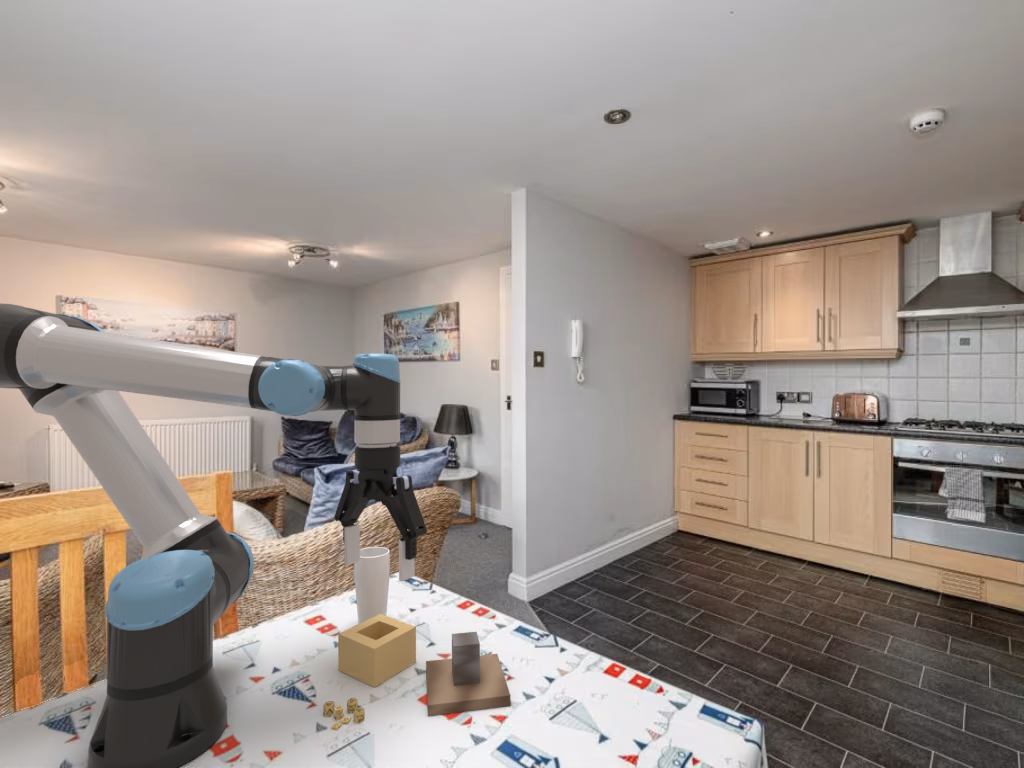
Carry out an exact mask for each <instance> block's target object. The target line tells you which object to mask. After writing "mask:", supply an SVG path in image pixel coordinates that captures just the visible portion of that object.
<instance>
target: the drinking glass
mask: <svg viewBox="0 0 1024 768" xmlns="http://www.w3.org/2000/svg"><path fill="white" fill-rule="evenodd" d="M390 551H391V550H390V549H389V548H387V547H384V546H383V547H382V546H370V547H364V548H360V561H358V562H355V563H353V574H354V575H353V579H354V588H355V597H356V599H355V600H356V609H357V625H358V624H360V623H362V622H364V621H366V620H368V619H370V618H373V617H375V616H377V615H379V614H382V615H385V616H387V611H388V600H389V597H388V596H389V588H390V587H389V585H390V578H391V577H390V575H391V555H390V553H391V552H390Z"/></svg>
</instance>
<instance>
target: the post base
mask: <svg viewBox="0 0 1024 768" xmlns="http://www.w3.org/2000/svg"><path fill="white" fill-rule="evenodd" d="M479 639H480V638H479V636H478V632H477V631H467V632H458V633H451V658H444V659H435V660H434V659H433V660H425V676H426V677H425V678H426V679H425V680H426V701H427V703H426V704H427V717H429V716H430V717H431V716H437V715H446V714H453V713H454V714H455V713H461V712H470V711H471V712H472V711H477V710H478V711H479V710H484V709H485V710H486V709H493V708H501V707H502V708H503V707H509V706H510V707H511V693H510V689H509V686H508V684H507V681H506V677H505V673H504V671H503V667H502V665H501V661H500V658H499V655H498V653H491V654H481V652H480V651H481V643H480V640H479Z"/></svg>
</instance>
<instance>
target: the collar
mask: <svg viewBox="0 0 1024 768" xmlns="http://www.w3.org/2000/svg"><path fill="white" fill-rule="evenodd" d="M337 638H338V639H337V640H338V642H337V643H338V645H337V652H338V655H337V656H338V658H337V660H338V661H337V665H338V667H337V668H338V671H340V672H341V673H343V674H346V675H348V676H350V677H352V678H354V679H356V680H358V681H361V682H362V683H364V684H366V685H369V686H371V687H373V688H377V687H378V686H380V685H381V684H383V683H384V682H386V681H388V680H389V679H391V678H393V677H394V676H396V675H397V674H399V673H400V672H402V671H403V670H404V671H405V670H406V669H407V668H408V667H410V666H412V665H414V664H415V663H417V627H416V625H412V624H410V623H407V622H404V621H401V620H398V619H396V618H392V617H390V616H389V615H386V616H385V615H382V614H379V615H377V616H375V617H373V618H370V619H368V620H366V621H364V622H362V623H360V624H358V623H357V624H355V625H354V626H352V627H350V628H347V629H345V630H344V631H341V632H339V633H338V635H337Z"/></svg>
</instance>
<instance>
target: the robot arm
mask: <svg viewBox="0 0 1024 768" xmlns="http://www.w3.org/2000/svg"><path fill="white" fill-rule="evenodd" d="M400 371H401V370H400V361H399V358H397V356H396V355H394V354H391V353H390V354H389V353H359V354H356V355H355V356H354V360H353V363H352V365H351V364H350V365H349V364H348V365H343V366H342V365H318V364H313V363H309V362H307V361H304V360H300V359H294V358H287V359H286V358H278V357H273V356H263V355H259V354H252V353H246V352H238V351H233V350H227V349H219V348H213V347H212V348H211V347H206V346H201V345H200V346H198V345H193V344H192V345H191V344H185V343H179V342H171V341H165V340H158V339H154V338H153V339H152V338H145V337H139V336H132V335H127V334H125V335H124V334H121V333H120V334H119V333H113V332H106V331H105V330H104V329H102V328H101V327H99V326H98V325H97V324H94V323H92V322H89V321H87V320H85V319H83V318H80V317H77V316H75V315H74V316H73V315H70V314H63V313H54V312H53V313H52V312H49V311H43V310H41V309H40V310H39V309H35V308H30V307H25V306H22V305H18V304H12V303H0V389H15V390H16V389H18V390H20V393H22V395H23V397H24V398H25V399H26V401H27V403H28V404H29V405H30V406H31V408H32V409H33V411H34V412H35V413H37V414H41V415H46V416H51V417H54V420H56V422H57V423H58V424H59V425H58V426H60V428H61V429H62V431H63V432H64V433H65V434H66V436H67V437H68V440H69V441H70V442H71V443H72V446H74V448H75V449H76V451H77V452H78V454H79V455H80V457H81V458H82V459H83V461H84V462H85V465H87V467H88V468H89V470H90V471H91V472H92V474H93V475H94V477H95V478H96V480H97V481H98V482H99V484H100V486H101V487H102V489H103V490H104V492H106V494H107V496H108V498H109V499H110V500H111V502H112V503H113V505H114V506H115V507H116V509H117V511H118V512H119V513H120V515H121V516H122V518H123V519H124V520H125V522H126V524H127V525H128V527H129V528H130V530H131V531H132V532H133V534H134V535H135V537H136V538H137V540H138V541H139V542H140V544H141V546H142V547H143V551H142V553H141V556H140V557H141V558H140V559H138V560H136V561H134V562H132V563H130V564H129V565H128V564H127V565H126V566H125V567H124V568H123V569H121V570H120V571H119V572H117V574H115V576H114V577H113V578H112V580H111V582H110V584H109V586H108V592H107V593H108V595H107V601H106V604H105V616H106V617H105V618H106V699H105V700H104V702H103V706H102V709H101V711H100V715H99V716H98V720H97V722H96V724H95V728H94V730H93V733H92V736H91V739H90V742H89V746H88V758H87V759H88V762H87V763H88V765H87V766H89V767H88V768H178V767H180V766H182V765H185V764H186V763H188V762H190V761H191V760H194V759H195V758H196V757H199V755H200V756H201V754H203V753H204V752H205V751H207V750H208V749H209V748H211V746H213V744H215V743H216V742H217V740H219V738H220V737H221V735H222V734H223V733H224V731H225V729H226V727H227V723H228V705H227V700H226V696H225V695H224V692H223V689H222V687H221V685H220V682H219V680H218V678H217V675H216V672H215V670H214V664H213V662H214V661H213V660H214V659H213V658H214V657H213V654H214V653H213V651H214V625H215V623H216V622H217V621H218V620H219V619H220V618H221V617H222V616H223V615H224V614H225V613H226V612H227V611H228V609H230V607H231V606H232V605H233V604H235V603H236V602H237V601H238V600H239V598H241V596H242V595H243V593H244V592H245V590H246V588H247V587H248V585H249V583H250V581H251V579H252V576H253V573H254V568H255V567H254V565H255V559H254V555H253V551H252V549H251V546H250V545H249V544H248V542H247V541H246V540H245V539H244V538H243V537H241V536H240V535H238V534H237V533H232V532H229V531H226V529H225V528H224V526H223V525H222V524H221V522H220V521H219V519H218V518H217V517H216V516H212V515H205V514H202V513H201V512H200V511H199V509H198V507H197V506H196V505H195V503H194V502H193V500H192V499H191V497H190V495H189V494H188V492H187V491H186V489H185V488H184V487H183V485H182V484H181V482H180V481H179V479H178V477H177V476H176V475H175V474H174V471H173V470H172V469H171V468H170V466H169V465H168V463H167V461H166V459H165V458H164V456H163V455H162V454H161V453H160V451H159V450H158V448H157V446H156V445H155V443H154V442H153V440H152V439H151V438H150V436H149V435H148V433H147V432H146V431H147V430H145V428H144V426H143V425H142V424H141V423H140V421H139V420H138V418H137V417H136V415H135V414H134V412H133V411H132V409H131V408H130V406H129V405H128V403H127V402H126V400H125V399H124V397H123V396H122V394H121V393H120V392H122V393H123V392H124V393H133V394H141V395H147V396H155V397H161V398H162V397H163V398H170V399H178V400H186V401H193V402H194V401H195V402H202V403H207V404H209V403H210V404H216V405H217V404H218V405H225V406H231V407H232V406H233V407H241V408H248V409H255V410H260V411H267V412H274V413H276V414H279V415H282V416H289V417H290V416H292V417H298V416H303V415H305V414H308V413H313V412H324V411H327V412H328V411H354V412H353V413H354V424H353V425H354V436H353V439H354V440H353V442H354V443H355V444H356V445H357V446H356V447H355V448H354V467H355V469H353V470H347V471H346V473H345V483H344V486H343V490H342V492H341V495H340V498H339V501H338V505H337V508H336V511H335V513H334V516H333V517H334V521H335V522H340V525H341V526H342V535H343V536H342V537H343V538H342V540H343V541H342V542H343V544H344V561H343V562H344V565H345V566H350V565H352V564H354V563H355V562H358V561H360V549H361V547H360V546H361V545H360V544H361V541H360V540H361V538H360V537H361V536H360V535H361V534H360V533H361V532H360V531H361V530H360V526H361V525H360V523H359V522H360V521H359V518H360V517H361V515H362V513H363V512H364V510H365V508H366V507H367V505H368V503H369V502H370V501H372V500H374V501H376V502H380V503H381V504H382V505H383V506H385V507H386V508H387V510H388V513H389V515H390V516H391V519H392V520H393V522H394V524H395V526H396V527H397V529H398V531H399V533H400V536H401V537H400V539H398V580H399V581H400V582H404V581H406V580H409V579H411V578H414V577H415V575H416V574H415V559H416V557H417V555H418V554H417V553H418V552H417V550H418V549H417V548H418V546H417V545H418V541H417V540H418V538H419V537H420V536H423V535H426V534H427V533H428V532H427V531H428V530H427V526H426V523H425V520H424V517H423V516H422V512H421V508H420V506H419V504H418V500H417V498H416V495H415V492H414V489H413V488H414V487H413V478H412V475H404V476H398V473H397V472H398V471H397V470H398V468H399V467H400V466H401V447H400V445H399V444H397V443H400V442H401V374H400V373H401V372H400ZM408 530H409V531H408Z"/></svg>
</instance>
